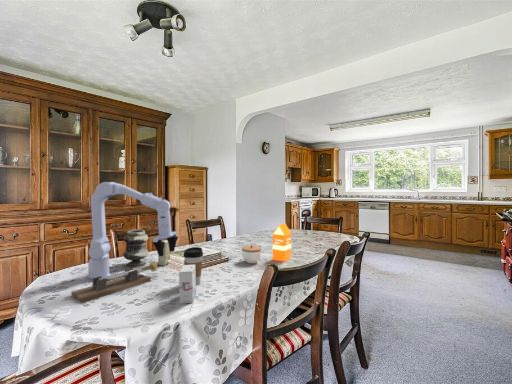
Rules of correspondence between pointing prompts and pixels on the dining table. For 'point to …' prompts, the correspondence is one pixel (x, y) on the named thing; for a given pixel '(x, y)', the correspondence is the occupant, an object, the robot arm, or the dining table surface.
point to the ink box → (187, 284)
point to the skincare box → (164, 259)
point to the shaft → (152, 267)
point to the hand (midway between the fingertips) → (166, 253)
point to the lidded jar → (251, 253)
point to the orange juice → (282, 243)
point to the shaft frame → (109, 286)
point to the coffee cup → (194, 260)
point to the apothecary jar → (135, 247)
